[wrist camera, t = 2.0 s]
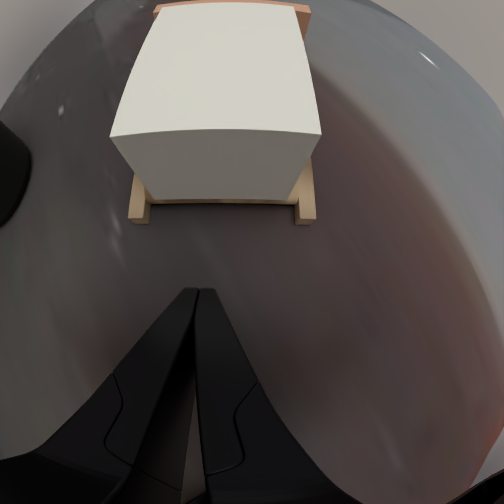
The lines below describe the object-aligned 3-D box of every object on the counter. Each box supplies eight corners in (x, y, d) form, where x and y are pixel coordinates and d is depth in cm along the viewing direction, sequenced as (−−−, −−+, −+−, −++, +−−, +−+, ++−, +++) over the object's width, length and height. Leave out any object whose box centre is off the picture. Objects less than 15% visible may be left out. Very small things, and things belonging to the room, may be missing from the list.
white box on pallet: (286, 200, 18) (321, 134, 10) (154, 199, 18) (109, 137, 10) (278, 77, 20) (293, 6, 12) (176, 77, 20) (162, 7, 12)
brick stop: (300, 51, 24) (311, 13, 19) (161, 50, 23) (152, 12, 17) (298, 42, 25) (308, 5, 19) (164, 42, 24) (157, 5, 18)
